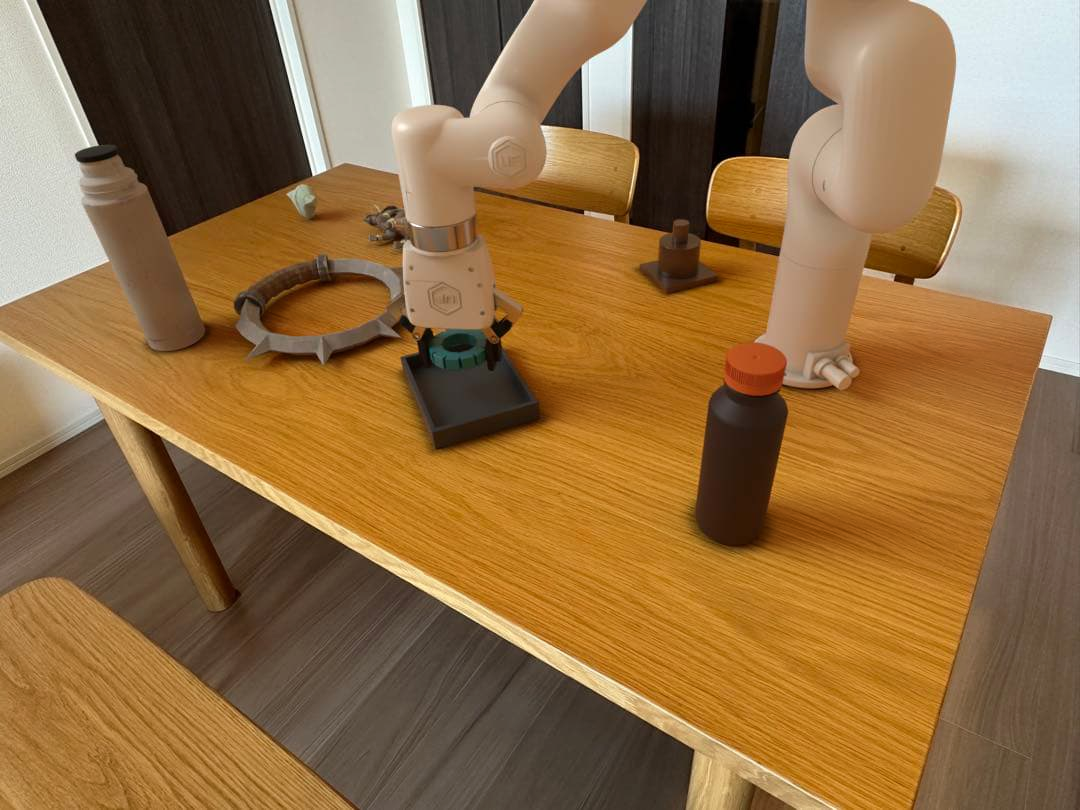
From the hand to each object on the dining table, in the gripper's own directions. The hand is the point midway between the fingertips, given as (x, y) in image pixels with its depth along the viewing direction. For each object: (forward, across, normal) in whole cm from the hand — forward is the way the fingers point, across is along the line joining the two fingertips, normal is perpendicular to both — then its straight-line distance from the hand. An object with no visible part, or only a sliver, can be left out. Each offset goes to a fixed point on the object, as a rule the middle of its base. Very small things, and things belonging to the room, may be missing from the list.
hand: (461, 362), depth 86 cm
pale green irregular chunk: (+5, -45, +55) cm, 71 cm away
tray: (+5, 0, 0) cm, 5 cm away
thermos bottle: (+6, -48, +11) cm, 49 cm away
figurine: (+5, -22, +49) cm, 54 cm away
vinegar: (+5, +32, -19) cm, 37 cm away
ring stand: (+5, +27, +34) cm, 43 cm away
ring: (-2, 0, 0) cm, 2 cm away
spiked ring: (+5, -25, +18) cm, 31 cm away
